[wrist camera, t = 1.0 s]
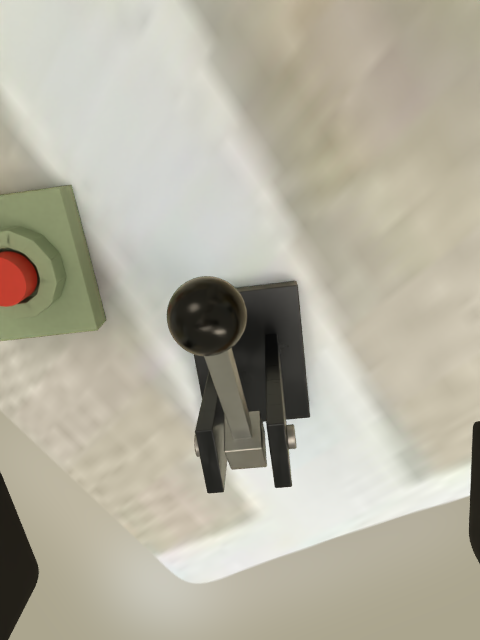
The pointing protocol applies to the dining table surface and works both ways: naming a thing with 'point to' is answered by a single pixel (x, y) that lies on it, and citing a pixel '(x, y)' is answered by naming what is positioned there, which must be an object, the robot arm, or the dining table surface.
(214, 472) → the bracket
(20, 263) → the button
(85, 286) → the control block
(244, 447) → the lever
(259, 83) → the dining table surface
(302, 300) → the dining table surface
